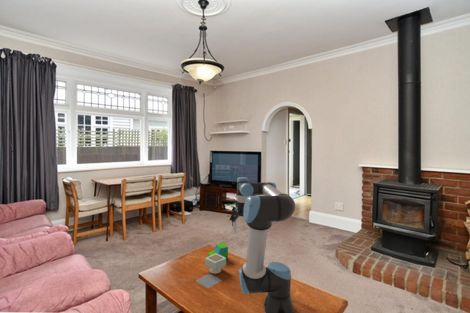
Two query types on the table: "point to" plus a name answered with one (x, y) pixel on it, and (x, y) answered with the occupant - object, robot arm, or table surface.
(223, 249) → the toy car
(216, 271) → the bowl
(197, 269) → the table surface
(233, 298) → the table surface
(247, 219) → the robot arm
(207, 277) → the mat
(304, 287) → the table surface
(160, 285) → the table surface
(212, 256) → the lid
